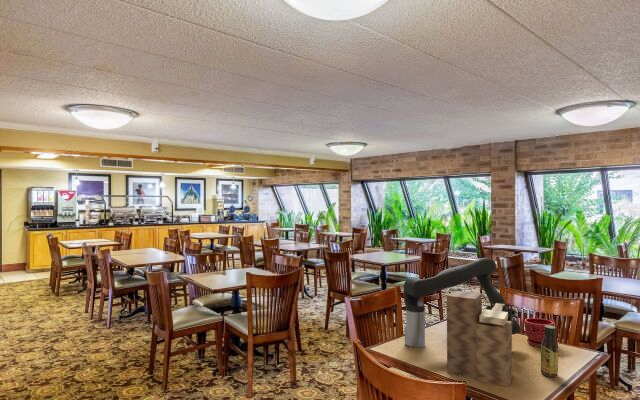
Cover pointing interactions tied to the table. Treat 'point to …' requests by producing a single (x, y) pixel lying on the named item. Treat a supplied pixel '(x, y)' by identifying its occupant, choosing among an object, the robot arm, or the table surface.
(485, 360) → the block
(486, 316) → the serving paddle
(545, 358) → the sauce bottle
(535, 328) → the plant pot
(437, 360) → the table surface
